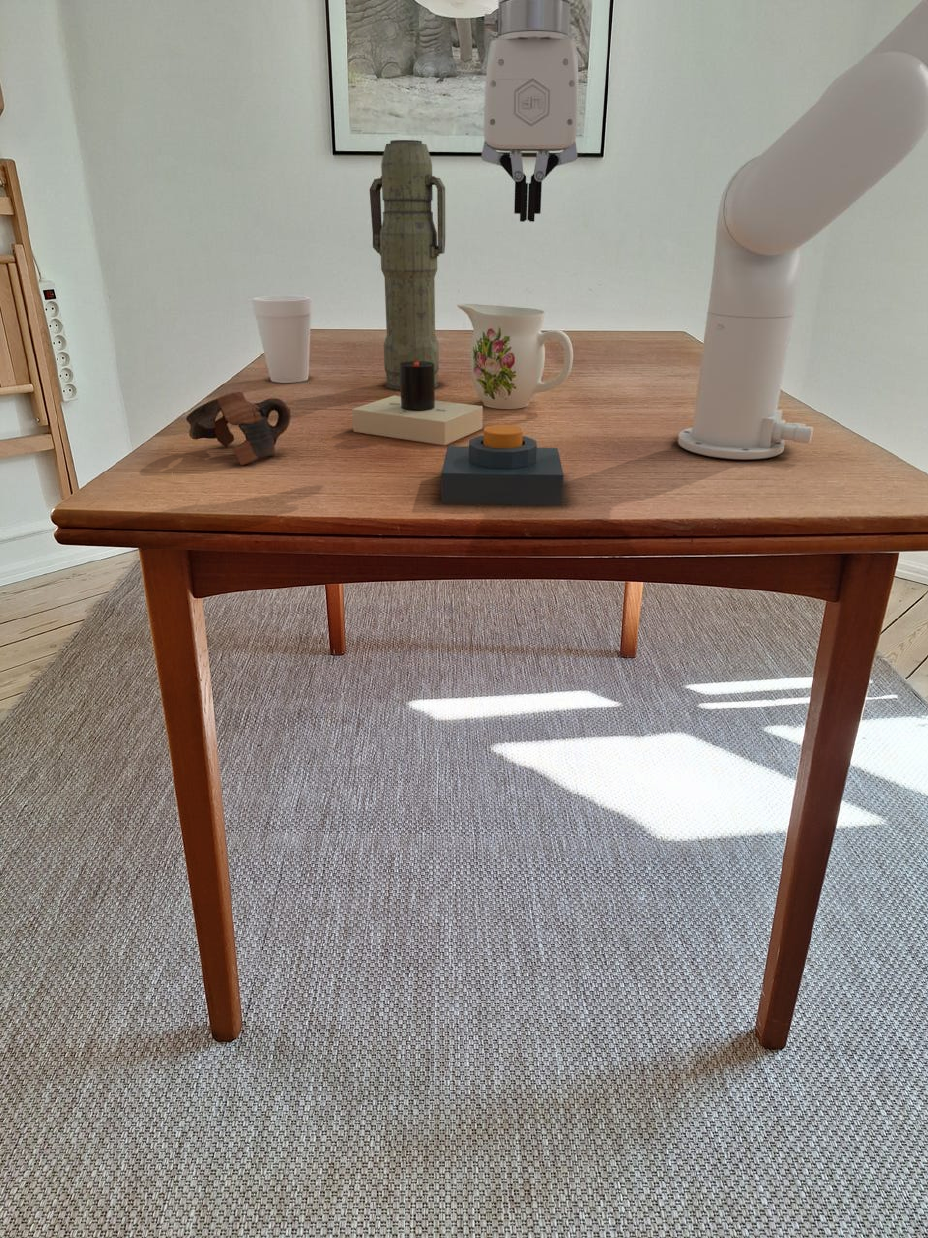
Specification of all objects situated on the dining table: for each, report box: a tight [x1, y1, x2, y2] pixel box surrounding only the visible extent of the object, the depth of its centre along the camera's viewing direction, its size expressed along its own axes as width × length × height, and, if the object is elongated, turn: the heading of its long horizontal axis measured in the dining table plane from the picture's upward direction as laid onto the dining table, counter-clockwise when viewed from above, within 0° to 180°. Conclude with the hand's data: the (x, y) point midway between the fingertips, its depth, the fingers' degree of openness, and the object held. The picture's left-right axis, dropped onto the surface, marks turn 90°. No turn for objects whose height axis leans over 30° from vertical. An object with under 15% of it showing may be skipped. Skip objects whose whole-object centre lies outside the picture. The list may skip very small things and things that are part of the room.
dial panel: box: [351, 394, 484, 446], centre depth 107 cm, size 14×10×3 cm
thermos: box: [369, 139, 446, 391], centre depth 127 cm, size 9×12×35 cm
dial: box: [400, 361, 436, 411], centre depth 105 cm, size 4×4×6 cm
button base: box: [440, 435, 564, 506], centre depth 84 cm, size 12×10×5 cm
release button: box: [482, 424, 524, 448], centre depth 83 cm, size 4×4×2 cm
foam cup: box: [251, 294, 313, 384], centre depth 136 cm, size 10×9×13 cm
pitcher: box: [456, 303, 574, 410], centre depth 118 cm, size 11×18×14 cm, turn 65°
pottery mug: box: [185, 391, 292, 466], centre depth 97 cm, size 12×10×8 cm
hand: (527, 220), depth 94 cm, fingers closed
